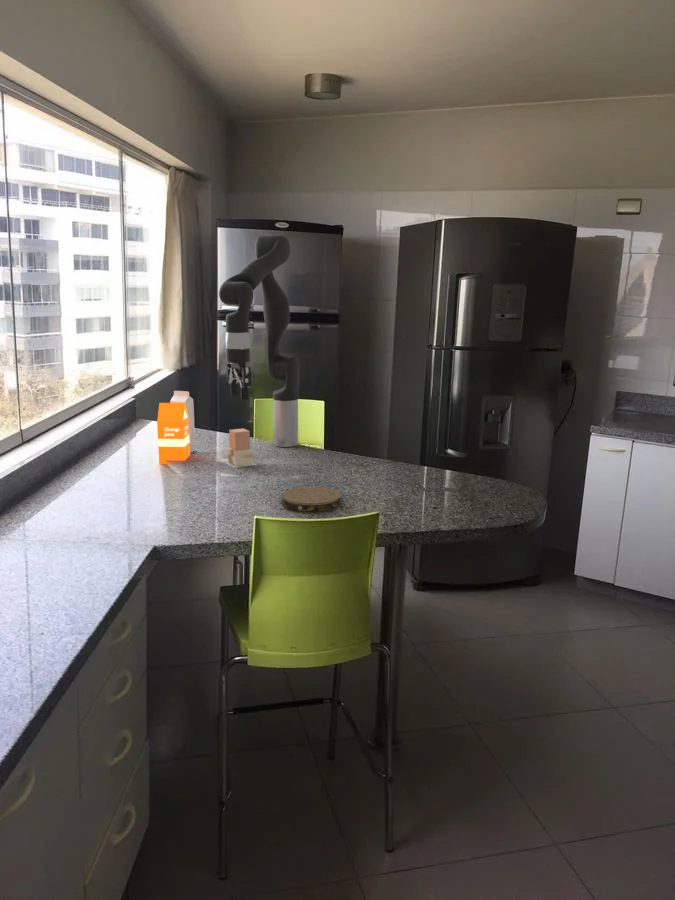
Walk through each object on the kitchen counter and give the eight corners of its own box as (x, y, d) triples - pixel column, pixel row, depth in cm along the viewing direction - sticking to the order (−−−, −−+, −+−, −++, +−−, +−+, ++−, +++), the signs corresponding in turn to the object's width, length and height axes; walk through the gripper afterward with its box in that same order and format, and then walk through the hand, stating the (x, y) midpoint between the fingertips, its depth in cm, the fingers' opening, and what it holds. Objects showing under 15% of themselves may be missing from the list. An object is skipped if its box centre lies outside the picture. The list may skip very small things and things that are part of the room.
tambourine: (352, 505, 196) (352, 495, 195) (308, 518, 185) (308, 507, 184) (313, 493, 207) (313, 483, 206) (270, 504, 196) (270, 494, 196)
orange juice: (185, 464, 238) (182, 405, 233) (158, 464, 238) (155, 404, 234) (190, 458, 246) (188, 401, 241) (164, 458, 246) (161, 400, 241)
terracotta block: (229, 447, 234) (229, 429, 233) (243, 446, 236) (243, 428, 235) (235, 450, 230) (235, 432, 228) (250, 449, 232) (249, 431, 231)
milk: (180, 450, 258) (177, 389, 253) (195, 451, 257) (193, 390, 252) (172, 453, 253) (169, 391, 248) (187, 454, 251) (184, 392, 246)
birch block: (228, 462, 235) (227, 447, 234) (245, 460, 238) (244, 445, 237) (235, 466, 230) (234, 451, 229) (252, 464, 233) (252, 449, 232)
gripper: (218, 345, 230) (220, 395, 233) (235, 349, 218) (237, 401, 221) (239, 344, 233) (241, 393, 237) (258, 348, 221) (259, 399, 225)
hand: (239, 397), depth 229 cm, fingers open, 8 cm apart
